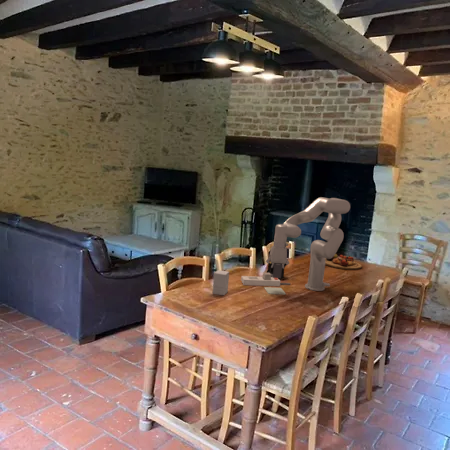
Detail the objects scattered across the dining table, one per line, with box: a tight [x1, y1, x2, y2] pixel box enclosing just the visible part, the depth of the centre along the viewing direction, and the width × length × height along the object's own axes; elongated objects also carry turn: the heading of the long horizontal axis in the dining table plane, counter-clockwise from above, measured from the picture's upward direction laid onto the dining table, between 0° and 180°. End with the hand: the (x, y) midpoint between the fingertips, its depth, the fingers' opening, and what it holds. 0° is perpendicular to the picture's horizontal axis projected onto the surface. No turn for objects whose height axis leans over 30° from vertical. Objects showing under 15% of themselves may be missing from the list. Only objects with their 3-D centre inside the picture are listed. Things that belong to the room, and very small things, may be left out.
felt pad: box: [263, 286, 287, 295], centre depth 259 cm, size 11×11×1 cm
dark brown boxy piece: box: [266, 261, 286, 281], centre depth 288 cm, size 10×10×10 cm
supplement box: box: [212, 269, 230, 296], centre depth 246 cm, size 7×7×13 cm
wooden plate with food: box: [325, 253, 363, 271], centre depth 340 cm, size 32×32×8 cm
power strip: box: [240, 275, 291, 287], centre depth 272 cm, size 32×8×4 cm, turn 98°
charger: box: [271, 263, 283, 278], centre depth 256 cm, size 5×5×8 cm
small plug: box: [262, 272, 271, 280], centre depth 271 cm, size 4×4×5 cm
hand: (276, 273), depth 257 cm, fingers closed on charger, 5 cm apart
